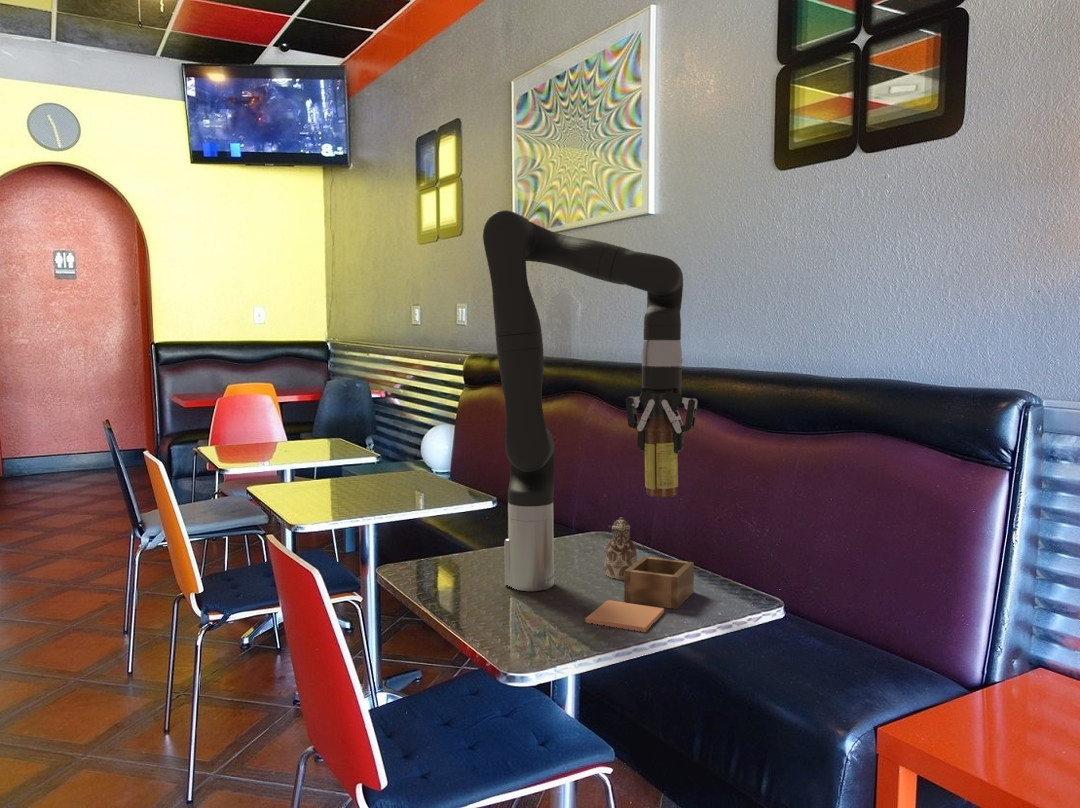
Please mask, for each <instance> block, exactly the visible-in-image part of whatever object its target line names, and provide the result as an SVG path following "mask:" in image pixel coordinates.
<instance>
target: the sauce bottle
mask: <svg viewBox="0 0 1080 808" xmlns="http://www.w3.org/2000/svg"><path fill="white" fill-rule="evenodd" d="M651 399H653V400H654V402H655V404H654V406H653V409H652V412H651V414H650V419H649V421H648V423H647V425H646V427H645V443H644V444H645V451H644V478H645V479H644V481H645V483H644V485H645V488H646V490H645V491H646V495H647V496H648V497H652V498H659V499H660V498H662V499H666V498H667V499H668V498H674V497H676V496H677V495H678V487H679V475H678V474H679V472H678V470H679V469H678V467H679V465H678V453H674V434H675V433H676V431H675V429H674V427H673V425H672V423H671V422H670V420H669V418H667V416H666V411H665V409H664V408H663V406H662V401H663V400H666V399H667V395H666V394H656V393H653V394H649V400H651Z"/></svg>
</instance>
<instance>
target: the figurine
mask: <svg viewBox="0 0 1080 808" xmlns="http://www.w3.org/2000/svg"><path fill="white" fill-rule="evenodd" d="M611 535H612V536H611V537H612V538H611V539H610V540H609V542H608V543H607V544H606V550H605V560H604V566H603V571H604V573H603V574H604V576H606V575H607V576H606V577H608V576H609V577H608V578H610V577H611V579H612V578H616V579H615V580H624V571H625V570H626V569H627V568H629V567H630V566H631V565H633V564H634V563H635V562H637V561H638V553H637V547H636V545H635V543H634V541H633V540H632V539H630V538H631V525H630V524H629V523H628V521H627V520H625V517H622V516H620V517H619V518H618V519H616V520H615V521H614V522H613V524H612V526H611Z"/></svg>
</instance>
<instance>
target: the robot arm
mask: <svg viewBox="0 0 1080 808" xmlns="http://www.w3.org/2000/svg"><path fill="white" fill-rule="evenodd" d="M482 231H483V232H482V240H483V248H484V252H485V256H486V261H487V266H488V271H489V274H490V275H489V276H490V281H491V282H490V284H491V291H492V292H491V293H492V306H493V307H492V308H493V318H494V330H495V331H494V332H495V342H496V343H495V344H496V353H497V360H498V361H497V362H498V368H499V374H500V375H499V376H500V381H501V387H502V392H503V398H504V406H505V442H504V443H505V454H506V457H507V460H508V461H509V465H510V466H509V482H508V483H509V484H508V490H507V513H508V514H507V518H508V521H507V522H508V523H507V528H508V529H507V535H508V537H507V538H505V539H504V547H503V549H504V552H503V553H504V586H505V585H508V586H507V587H509V586H510V588H511V587H512V588H511V589H513V588H514V589H513V590H516V589H517V591H522V592H523V591H524V592H537V591H538V592H539V591H544V590H545V591H546V590H549V589H551V588H552V587H554V585H555V584H554V582H555V579H554V577H555V575H554V573H555V572H554V565H555V564H554V563H555V562H554V561H555V559H554V557H555V555H554V554H555V553H554V490H555V466H556V465H555V464H556V463H555V462H556V461H555V457H556V455H555V451H556V450H555V440H554V436H553V435H552V432H551V431H550V430H549V428H547V427H546V426H547V425H546V420H545V417H544V409H543V399H542V397H543V395H542V394H543V392H542V391H543V382H544V381H543V380H544V379H543V378H544V343H543V333H542V326H541V320H540V317H539V313H538V310H537V307H536V304H535V301H534V298H533V296H532V295H533V294H532V293H531V290H530V286H529V282H528V281H529V280H528V275H527V262H532V263H533V262H534V263H535V262H536V263H541V264H548V265H553V266H555V267H561V268H563V269H566V270H570V271H573V272H575V273H577V274H581V275H584V276H586V277H590V278H593V279H597V280H601V281H604V282H608V283H612V284H615V285H623V286H624V285H626V286H628V287H631V288H634V289H637V290H641V291H644V292H646V295H647V296H646V302H647V303H646V312H645V314H644V317H643V344H642V350H641V351H642V352H641V393H640V394H639V396H627V397H625V409H626V417H627V426H628V427H629V428H632V429H634V430H635V431H637V447H638V448H639V449H640V451H641V452H642V451H643V452H645V444H644V443H645V427H646V425H647V423H648V421H649V419H650V414H651V412H652V409H653V406H654V404H655V402H654V400H653V399H651V400H649V394H653V393H656V394H666V395H667V399H666V400H663V401H662V406H663V408H664V409H665V411H666V416H667V418H669V420H670V422H671V423H672V425H673V427H674V429H675V431H676V433H675V434H674V453H677V454H679V453H681V451H682V450H684V447H685V445H684V444H685V433H686V432H688V431H691V430H693V429H695V424H696V418H697V410H698V405H699V400H698V399H697V398H687V397H684V396H683V394H682V368H683V367H682V364H683V353H682V352H683V351H682V342H681V340H682V334H681V331H682V329H681V328H682V320H681V308H682V301H683V291H684V277H683V276H684V275H683V272H682V269H681V267H680V266H679V265H678V263H676V261H674V260H672V259H671V258H668V257H667V256H666V257H665V256H662V255H659V254H658V255H657V254H653V253H647V252H643V251H641V252H640V251H635V250H631V249H629V248H626V247H622V246H620V245H619V246H618V245H615V244H613V243H612V244H611V243H608V242H603V241H600V240H595V239H594V240H593V239H589V238H582V237H577V236H570V235H566V234H561V233H558V232H555V231H552V230H549V229H547V228H546V227H542V226H541V225H538V224H536V223H534V222H532V221H530V220H529V219H528V218H527V217H525V216H523V215H520V214H519V213H517V212H514V211H511V210H505V209H504V210H503V209H502V210H498V211H495V212H493V213H492V214H491V215H489V217H487V219H486V222H485V223H484V225H483V229H482ZM639 404H641V405H642V407H643V408H644V411H643V413H642V415H641V417H640V420H639V419H638V418H639V417H638V410H637V409H638V407H639ZM682 404H683V405H684V409H685V410H686V416H685V421H684V423H683V421H682V417H681V415H680V413H679V409H680V407H681V406H682Z"/></svg>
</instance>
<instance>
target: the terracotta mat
mask: <svg viewBox="0 0 1080 808" xmlns="http://www.w3.org/2000/svg"><path fill="white" fill-rule="evenodd" d="M664 613H665V607H658V606H651V605H645V604H638V603H631V602H624V601H617V600H612V599H611V600H610V599H607V600H606V601H605V602H604V603H602V604H601V605H600V606H599V607H597V608H596V609H595V610H594V611H592V612H591V613H590V614H589V615H588V616H586V617H585V619H584V620H585V622H586V623H585V624H591V623H593V624H592V625H597V624H598V625H599V626H603V625H605V626H604V627H609V626H610V627H609V628H616V627H617V628H616V629H622V628H623V629H624V630H628V629H629V630H628V631H634V630H635V632H640V631H641V633H646V632H647V631H648V630H649V629H650V628H651V627H652V626H653V625H654V624H655V623H656V621H657V620H658V619H660V617H661V616H663V614H664ZM653 623H654V624H653ZM652 624H653V625H652ZM651 625H652V626H651ZM623 629H622V630H623Z"/></svg>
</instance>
